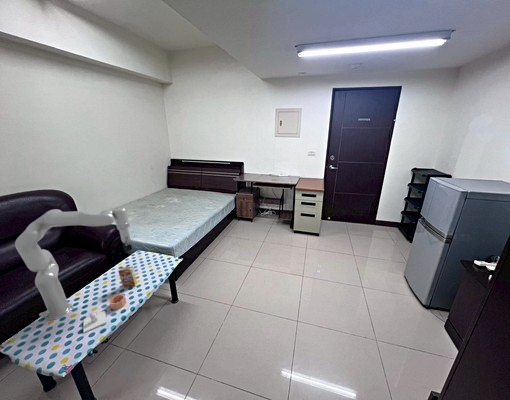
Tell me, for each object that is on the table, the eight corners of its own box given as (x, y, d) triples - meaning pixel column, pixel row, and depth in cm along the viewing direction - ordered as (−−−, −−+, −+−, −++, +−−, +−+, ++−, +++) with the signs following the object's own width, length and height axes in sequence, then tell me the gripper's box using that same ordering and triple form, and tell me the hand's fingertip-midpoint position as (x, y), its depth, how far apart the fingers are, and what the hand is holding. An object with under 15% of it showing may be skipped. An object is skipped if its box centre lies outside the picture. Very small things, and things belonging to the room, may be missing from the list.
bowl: (111, 312, 138) (110, 306, 136) (110, 304, 144) (108, 298, 143) (127, 305, 143) (125, 299, 141) (125, 298, 149) (123, 292, 148)
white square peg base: (83, 333, 123) (80, 325, 122) (84, 320, 132) (81, 313, 130) (106, 322, 130) (104, 315, 128) (105, 311, 138) (103, 304, 136)
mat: (85, 334, 123) (84, 333, 123) (85, 320, 133) (85, 319, 133) (105, 324, 129) (105, 323, 129) (104, 312, 138) (104, 311, 138)
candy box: (122, 288, 159) (117, 270, 154) (125, 284, 163) (120, 267, 158) (135, 286, 160) (131, 269, 155) (137, 283, 164) (133, 265, 160)
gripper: (115, 223, 153) (120, 244, 159) (118, 231, 140) (124, 254, 146) (127, 220, 158) (131, 241, 163) (131, 227, 145) (136, 250, 150)
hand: (128, 247), depth 154 cm, fingers open, 9 cm apart
